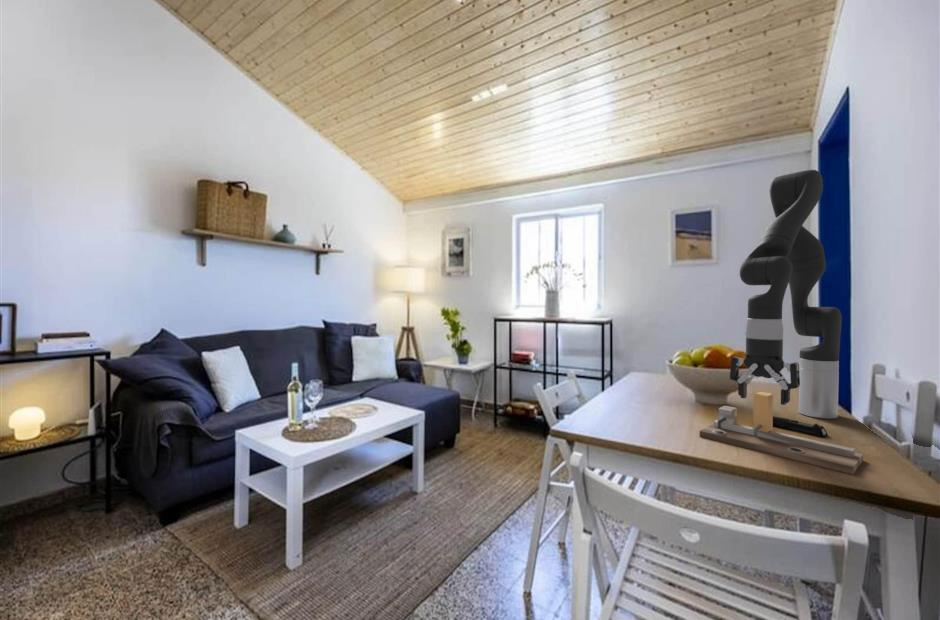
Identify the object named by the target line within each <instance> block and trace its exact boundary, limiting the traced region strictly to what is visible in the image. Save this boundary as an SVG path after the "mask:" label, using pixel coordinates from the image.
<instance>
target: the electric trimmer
mask: <svg viewBox="0 0 940 620" xmlns="http://www.w3.org/2000/svg"><path fill="white" fill-rule="evenodd" d="M773 426H775V427H778V428H782V429H786V430H792V431H793V430H794V431H797V432H803V433H806V434H811V435H815V436H818V438H827V437H828V432H827V429H826V428H825V427H824V426H823V425H819V424H818V423H814V424H810V423H807V422H801V421H799V420H794V419H789V418H785V417H780V416H774V415H773Z"/></svg>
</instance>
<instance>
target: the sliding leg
mask: <svg viewBox="0 0 940 620" xmlns="http://www.w3.org/2000/svg"><path fill="white" fill-rule="evenodd" d="M752 409H753V410H752V411H753V414H752V415H753V416H752V419H753V420H752V423H753V426H752V427H753V430H754V436H755V437H757V430H758V431H763V432H769V431H772V430H773V426H774V425H773V416H774V394H773V393H770V392H763V391H758V392H755V393H754V394H753V406H752Z"/></svg>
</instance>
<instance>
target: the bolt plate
mask: <svg viewBox="0 0 940 620" xmlns="http://www.w3.org/2000/svg"><path fill="white" fill-rule="evenodd" d="M737 414H738V407H733V406H728V405H723V406H721V407H718V419H716V420H714V421H713V423H712V424H710V425H708V426H706V427H704V428H702V429H701V430H700V429H699V437H700V438H705V439H709V440H713V441H717V442H722V443H726V444H730V445H733V446H738V447H742V448H745V449H750V450H753V451H757V452H761V453H765V454H770V455H774V456H778V457H781V458H785V459H790V460H794V461H797V462H802V463H806V464H810V465H814V466H819V467H822V468H826V469H831V470H834V471H838V472H843V473H847V474H850V475H855V473H856V471H857V470H858V468H859V467H860V465H861V464H862V463H863V461H864V453H860V452H857V451H856V448H853V447H850V446H849V447H848V446H844V445H839V444H833V443H830V442H825V441H822V440H821V441H820V440H816V439H812V438H811V439H810V438H806V437H801V436H796V435H792V434H788V433H787V434H786V433H783V432H782V433H781V432H778V431H772V430H770V431H769V432H763V431H758V430H757V437H755V436H754V430H753V426H749V425H744V424H738V423H737V421H738V418H737V417H738V415H737Z"/></svg>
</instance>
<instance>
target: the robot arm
mask: <svg viewBox="0 0 940 620" xmlns="http://www.w3.org/2000/svg"><path fill="white" fill-rule="evenodd" d="M823 182H824V181H823V177H822V175H821V173H820V172H819V171H818V170H816V169H807V170H806V169H805V170H801V171H797V172H791V173H787V174H783V175H779V176H778V175H777V176H776V177H774V178H772V180H771V181H770V184H769V198H770V203H771V205H772V209H773V213H774V217H775V219H773V220H772V221H771V222H770V223H769V224H768V225H767V226H766V228H765V229H764V231H763V234H762V236H761V238H760V241H759V244H758V245H757V246H756V247H754V249H753V250H752V251H751V252H750V253H749V254H748V256H746V258H745V259H744V260H743V262H742V263H741V265H740V268H739V277H740V280H741V281H742V283H743V284H745V285H747V286H770V287H769V289H768V290H767V292H764V293H760V294H755V295H751V296H750V297H749V298H748V300H747V322H746V328H745V329H746V331H745V357H744V358H743V357H739V356H733V357H732V358H731V360H730V369H729V370H730V371H729V379H730V381H734V382H737V384H738V385H737V386H738V387H737V389H738V390H737V393H738V396H740V399H746V398H747V395H748V394H747V393H748V391H747V390H748V388H747V387H748V384H747V383H746V382H747V381H748V380H749V379H750V378H751V377H752V376H754V378H755V377H756V378H760V377H761V378H762V377H763V378H765V379H772V378H773V380H774V381H775V382H776V383H777V384H778V385H779V386H780V387H781V389H780V405H781V406H785V405H787V404H788V403H790V400H791V390H792V389H797V388H798V413H799V414H801V415H805V416H808V417H813V418H818V419H827V420H828V419H830V420H831V419H838V417H839V416H838V415H839V379H840V378H839V377H840V376H839V375H840V373H839V372H840V371H839V369H840V365H839V364H840V361H839V360H840V349H841V333H842V324H843V323H842V322H843V320H842V319H843V318H842V313H841V310H840V309H839V308H837V307H834V306H809V303H808V299H809V295H810V294H811V292H812V290H813V289H814V287H815V285H816V284H817V283H818V282H819V280H820V279H821V278H822V276H823V274H824V272H825V270H826V266H827V263H826V262H827V261H826V256H825V250H824V245H823V244H822V242H821V241H820V240H819V239H818V237H816V236H815V235H814V234H813V233H812V232H810V231H809V230H808V229H807V228H805V227H804V223H805V221H807V219H808V218H809V216H811V213H812V212H813V210H814V209H815V208H816V206H817V204H818V203H819V201H820V200H821V197H822V194H823V189H824V183H823ZM788 285H789V292H790V298H791V300H790V301H791V310H792V323H793V327H794V331H795V332H796V334H797V335H798V336H803V337H813V338H814V337H815V338H823V340H822V342H820V343H819V344H817V345H813V346H807V347H803V348H801V349H800V351H799V362H795V361H794V362H793V363H792V362H785V361H784V359H783V357H784V355H783V354H784V352H783V351H784V324H783V303H784V298H785V296H786V295H785V294H786V292H787V291H786V290H787V288H788ZM742 364H743V365H744V366H745V367H746V368H747V370H745V371H744V372H743V373H742V375H741V376H739V373H740V367H741V366H743V365H742ZM784 368H785V369H786V370H787V372H788V373H789V375H790V383H789V381H788V380H787V379H786V376H784V374H783V373H782V370H783V369H784Z"/></svg>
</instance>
